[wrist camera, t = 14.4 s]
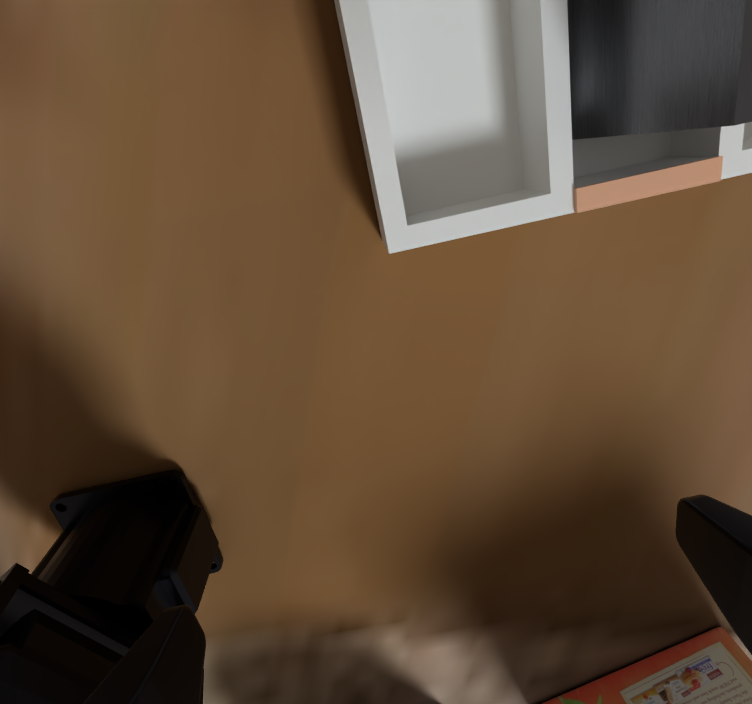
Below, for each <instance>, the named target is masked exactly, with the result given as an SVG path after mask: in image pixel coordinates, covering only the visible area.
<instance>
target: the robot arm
mask: <svg viewBox="0 0 752 704" xmlns="http://www.w3.org/2000/svg"><path fill="white" fill-rule="evenodd" d="M170 479H174V480H176V481H177V482H172V481H171V480H170ZM62 504H64V505H65V506H64V505H62ZM50 508H51V511H52V512H53V514H54V515H55V517H56V519H57V520H58V522H59V523H60V525H61V526H62V528H63V530H64V531H63V532H62V534H61V535H60V536H59V538H58V539H57V540H56V542H55V543H54V544H53V546H52V547H51V548H50V550H49V551H48V552H47V554H46V555H45V556H44V558H43V559H42V560H41V562H40V563H39V564H38V566H37V567H36V568H35V570H34V571H33V572H32V574H29V573H28V572H29V571H30V570H28V569H26V568H25V567H23V566H21V565H19V564H18V563H15V564H14V565H13V566H12V567H11V568H10V569H9V570H8V571H7V572H6V573H5V574H3V575H2V576H1V577H0V704H203V681H204V668H203V666H204V658H205V649H206V639H205V634H204V632H203V630H202V628H201V626H200V624H199V622H198V620H197V618H196V616H195V613H196V611H197V610H198V607H199V604H200V601H201V598H202V595H203V592H204V588H205V585H206V582H207V579H208V576H209V574H211V573H215V572H218V571H219V570H220V569H221V567H222V563H223V557H222V555H221V553H220V550H219V548H218V544H219V543H218V540H217V538H216V536H215V534H214V531H213V529H212V527H211V525H210V523H209V521H208V518H207V516H206V514H205V512H204V510H203V508H202V507H201V506H200V505H198V503H197V501H196V499H195V497H194V494H193V492H192V490H191V488H190V486H189V484H188V481H187V479H186V477H185V475H184V474H183V473H182V472H180V471H178V470H169V471H164V472H160V473H155V474H151V475H146V476H142V477H137V478H132V479H128V480H123V481H119V482H114V483H110V484H105V485H100V486H96V487H91V488H87V489H82V490H77V491H73V492H68V493H64V494H60V495H58V496H57V497H56V498H55V499H54V500H53V501H52V502H51V504H50ZM676 538H677V541H678V543H679V545H680V547H681V549H682V550H683V552H684V554H685V555H686V557H687V558H688V560H689V561H690V563H691V565H692V566H693V568H694V569H695V571H696V572H697V574H698V576H699V577H700V579H701V580H702V582H703V583H704V585H705V587H706V588H707V590H708V591H709V593H710V594H711V596H712V598H713V599H714V601H715V602H716V604H717V606H718V607H719V609H720V610H721V612H722V613H723V615H724V617H725V618H726V620H727V621H728V623H729V624H730V626H731V627H732V629H733V630H734V632H735V633H736V634H737V636H738V637H739V638H740V640H741V641H742V642H743V644H744V645H745V647H746V648H747V649H748V651H749V652H750V653H751V654H752V516H751V515H749V514H747V513H745V512H742V511H740V510H738V509H736V508H734V507H731V506H729V505H727V504H725V503H722V502H720V501H718V500H716V499H713V498H711V497H709V496H706V495H696V496H691V497H687V498H682V499H680V501H679V502H678V505H677V518H676ZM213 562H214V563H213Z"/></svg>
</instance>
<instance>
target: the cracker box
mask: <svg viewBox="0 0 752 704" xmlns="http://www.w3.org/2000/svg"><path fill="white" fill-rule="evenodd" d="M542 704H752V661H751V660H750V659H749V658H748V656H747V655H746V654H745V653H744V652H743V651H742V649H741V648H740V647H739V646H738V645H737V643H736V642H735V641H734V640H733V639H732V637H731V636H730V635H729V634H728V633H727V632H726V631H725V629H724V628H723V627H717V628H714V629H712V630H710V631H708V632H705V633H703V634H701V635H699V636H696V637H694V638H692V639H690V640H687V641H685V642H683V643H680V644H678V645H676V646H673V647H671V648H669V649H666V650H664V651H662V652H659V653H657V654H655V655H653V656H650V657H648V658H646V659H644V660H641V661H639V662H637V663H634V664H632V665H630V666H627V667H625V668H623V669H621V670H618V671H616V672H614V673H611V674H609V675H607V676H604V677H602V678H600V679H597V680H595V681H593V682H591V683H588V684H586V685H584V686H581V687H579V688H577V689H574V690H572V691H570V692H567V693H565V694H563V695H561V696H558V697H556V698H553V699H551V700H549V701H546V702H544V703H542Z"/></svg>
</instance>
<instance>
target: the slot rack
mask: <svg viewBox="0 0 752 704" xmlns="http://www.w3.org/2000/svg"><path fill="white" fill-rule="evenodd" d="M334 3H335V8H336V13H337V18H338V23H339V28H340V33H341V38H342V43H343V48H344V53H345V58H346V63H347V68H348V73H349V78H350V83H351V88H352V93H353V98H354V103H355V108H356V113H357V118H358V123H359V128H360V133H361V138H362V143H363V148H364V153H365V158H366V163H367V168H368V173H369V178H370V183H371V188H372V193H373V198H374V203H375V208H376V213H377V218H378V223H379V228H380V233H381V238H382V241H383V243H384V245H385V247H386V249H387V251H388V253H389V254H391V253H395V252H400V251H404V250H408V249H413V248H417V247H422V246H426V245H431V244H435V243H440V242H444V241H449V240H453V239H458V238H462V237H466V236H471V235H475V234H480V233H484V232H489V231H493V230H498V229H502V228H507V227H511V226H516V225H520V224H525V223H529V222H533V221H538V220H542V219H547V218H551V217H556V216H560V215H565V214H569V213H574V212H576V213H579V212H584V211H588V210H592V209H597V208H601V207H606V206H610V205H615V204H619V203H624V202H628V201H633V200H637V199H642V198H646V197H650V196H655V195H659V194H664V193H668V192H673V191H677V190H682V189H686V188H691V187H695V186H700V185H704V184H709V183H713V182H717V181H721V179H725V178H730V177H734V176H739V175H743V174H748V173H752V122H748V123H743V124H739V125H735V126H724V127H712V128H701V129H689V130H678V131H667V132H655V133H644V134H632V135H621V136H610V137H598V138H587V139H575V140H572V123H571V94H570V64H569V35H568V6H567V0H334Z"/></svg>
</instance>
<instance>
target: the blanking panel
mask: <svg viewBox="0 0 752 704" xmlns="http://www.w3.org/2000/svg"><path fill="white" fill-rule="evenodd" d="M567 6H568V35H569V64H570V94H571V123H572V140H575V139H587V138H598V137H610V136H621V135H632V134H644V133H655V132H667V131H678V130H689V129H701V128H712V127H724V126H735V125H739V124H743V123H748V122H752V0H567Z"/></svg>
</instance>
